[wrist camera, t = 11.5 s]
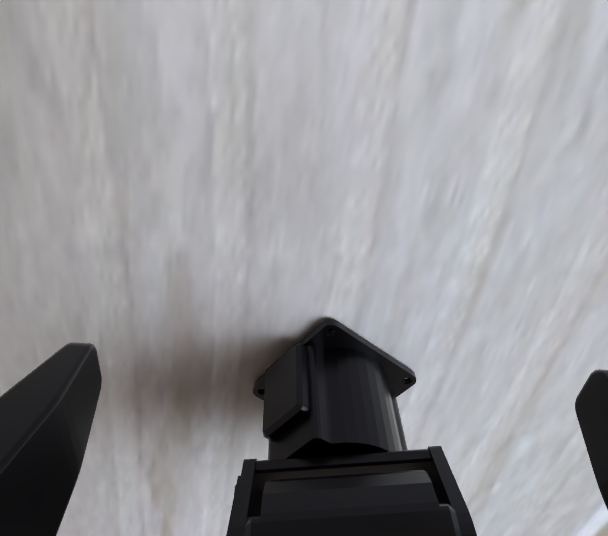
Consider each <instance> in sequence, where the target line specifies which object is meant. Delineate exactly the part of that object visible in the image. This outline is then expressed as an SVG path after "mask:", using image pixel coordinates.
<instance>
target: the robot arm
mask: <svg viewBox="0 0 608 536" xmlns="http://www.w3.org/2000/svg"><path fill="white" fill-rule="evenodd" d="M328 329H334V330H332V331H328ZM404 378H407V379H404ZM101 382H102V378H101V372H100V366H99V361H98V356H97V350H96V348H95V346H94V345H93V344H90V343H69V344H67V345H65V346H64V347H63V348H61V349H60V350H59V351H58V352H56V353H55V354H54V355H53V356H51V357H50V358H49V359H47V360H46V361H45V362H44V363H42V364H41V365H40V366H39V367H37V368H36V369H35V370H34V371H32V372H31V373H30V374H28V375H27V376H26V377H25V378H23V379H22V380H21V381H20V382H18V383H17V384H16V385H14V386H13V387H12V388H11V389H9V390H8V391H7V392H6V393H4V394H3V395H2V396H1V397H0V536H56V535H57V532H58V529H59V527H60V524H61V521H62V519H63V516H64V513H65V511H66V508H67V505H68V503H69V500H70V497H71V495H72V492H73V490H74V487H75V484H76V481H77V478H78V475H79V472H80V469H81V465H82V462H83V458H84V454H85V450H86V446H87V442H88V438H89V434H90V430H91V426H92V422H93V418H94V414H95V410H96V406H97V402H98V398H99V394H100V390H101ZM415 383H416V377H415V373H414V372H413V371H412V370H411V369H409V368H408V367H406V366H405V365H403V364H402V363H400V362H399V361H397V360H396V359H394V358H393V357H391V356H390V355H388V354H387V353H385V352H384V351H382V350H380V349H379V348H377V347H376V346H374V345H373V344H371V343H370V342H368V341H367V340H365V339H364V338H362V337H361V336H359V335H358V334H356V333H354V332H353V331H351V330H350V329H348V328H347V327H345V326H344V325H342V324H341V323H339V322H338V321H336V320H331V319H329V320H326V321H324V322H322V323H321V324H320V325H319V326H318V327H317V328H316V329H315V330H313V331H312V332H311V333H310V334H309V335H308V336H307V337H306V338H304V339H303V340H302V341H301V342H300V343H298V344H296V345H294V346H293V347H292V348H291V349H289V350H288V351H287V352H286V353H285V354H284V355H283V356H281V357H280V358H279V359H278V360H277V361H276V362H275V363H274V364H272V365H271V366H270V367H269V368H268V369H267V370H266V373H265V374H264V375H263V376H261V377H260V378H259V379H258V380H257V381H256V382H255V383H254V387H253V393H254V395H255V396H257V397H259V398H261V399H262V400H264V415H263V435H264V437H265V438H267V439H269V454H268V460H262V461H257V459H246V460H244V462H243V468H242V473H241V476H238V479H237V484H236V485H235V493H234V500H233V505H232V510H231V515H230V520H229V525H228V530H227V535H226V536H477V534H476V531H475V528H474V524H473V521H472V518H471V516H470V513H469V511H468V508H467V506H466V504H465V501H464V499H463V497H462V494H461V492H460V490H459V487H458V485H457V483H456V480H455V478H454V476H453V473H452V471H451V469H450V466H449V464H448V462H447V459H446V457H445V455H444V452H443V450H442V448H441V446H432V447H428V449H420V450H407V446H406V441H405V437H404V432H403V428H402V423H401V418H400V414H399V409H398V405H397V400H396V397H397V396H399V395H400V394H402V393H403V392H404V391H406V390H407V389H408V388H410V387H411V386H413V385H414V384H415ZM260 388H264V389H260ZM575 410H576V414H577V418H578V421H579V424H580V428H581V431H582V434H583V438H584V441H585V444H586V447H587V451H588V454H589V457H590V461H591V464H592V467H593V471H594V474H595V477H596V480H597V483H598V486H599V489H600V492H601V494H602V497H603V500H604V502H605V505H606V507H607V509H608V370H595V371H594V372H592V373H591V374H590V376H589V378H588V379H587V381H586V383H585V384H584V386H583V388H582V390H581V391H580V393H579V395H578V396H577V398H576V402H575Z"/></svg>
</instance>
